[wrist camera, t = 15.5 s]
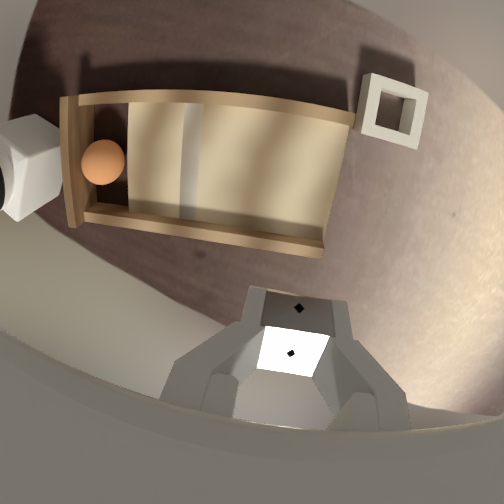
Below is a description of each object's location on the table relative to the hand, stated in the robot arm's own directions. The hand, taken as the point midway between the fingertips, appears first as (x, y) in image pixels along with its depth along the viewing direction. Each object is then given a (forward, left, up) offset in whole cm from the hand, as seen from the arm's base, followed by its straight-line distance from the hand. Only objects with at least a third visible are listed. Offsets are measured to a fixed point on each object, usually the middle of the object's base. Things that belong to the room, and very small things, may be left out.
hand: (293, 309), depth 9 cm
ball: (+16, 0, -15) cm, 22 cm away
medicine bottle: (+25, 0, -17) cm, 30 cm away
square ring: (-7, -7, -17) cm, 19 cm away
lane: (+7, 0, -17) cm, 18 cm away
